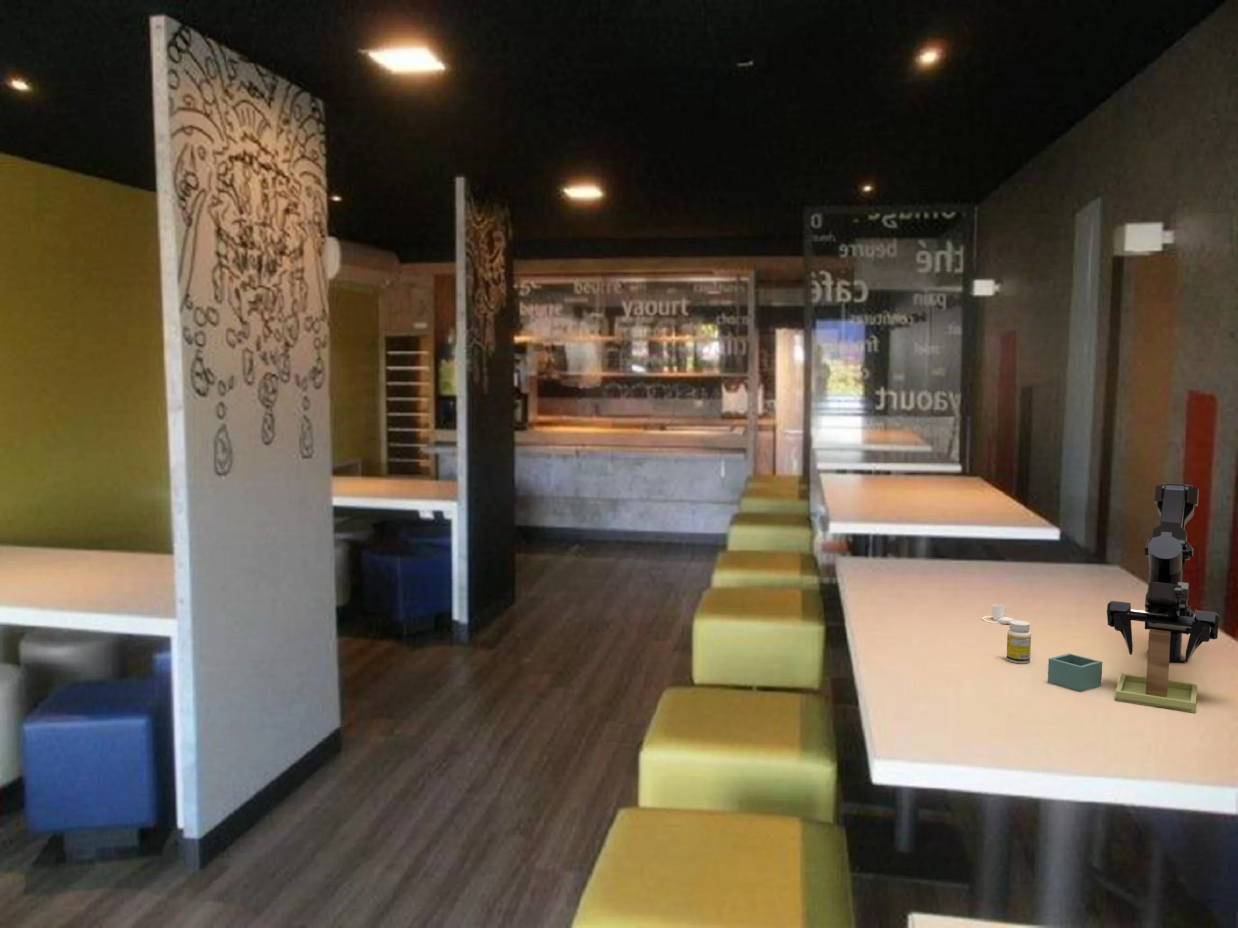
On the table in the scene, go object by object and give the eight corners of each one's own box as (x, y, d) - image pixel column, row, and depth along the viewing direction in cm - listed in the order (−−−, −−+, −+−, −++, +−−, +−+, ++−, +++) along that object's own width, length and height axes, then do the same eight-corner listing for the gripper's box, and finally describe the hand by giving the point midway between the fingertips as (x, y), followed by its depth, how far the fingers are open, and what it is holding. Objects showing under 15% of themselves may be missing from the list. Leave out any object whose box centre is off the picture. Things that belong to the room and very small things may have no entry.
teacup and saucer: (1016, 627, 238) (1017, 611, 237) (982, 624, 240) (982, 608, 240) (1015, 619, 246) (1015, 603, 245) (981, 616, 248) (982, 600, 248)
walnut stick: (1146, 689, 187) (1149, 628, 186) (1167, 692, 185) (1170, 631, 184) (1145, 694, 184) (1148, 632, 183) (1166, 697, 182) (1170, 635, 181)
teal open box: (1068, 676, 198) (1069, 653, 197) (1101, 685, 192) (1102, 661, 191) (1047, 681, 194) (1048, 658, 193) (1080, 691, 188) (1081, 667, 187)
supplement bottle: (1010, 656, 212) (1012, 618, 211) (1033, 660, 209) (1034, 621, 208) (1003, 661, 208) (1004, 622, 207) (1026, 665, 205) (1027, 626, 204)
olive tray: (1121, 681, 194) (1121, 673, 194) (1196, 693, 187) (1197, 684, 187) (1115, 700, 183) (1115, 690, 183) (1195, 712, 176) (1195, 703, 176)
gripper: (1110, 560, 191) (1101, 627, 183) (1221, 570, 181) (1217, 642, 173) (1112, 592, 198) (1103, 658, 190) (1219, 603, 188) (1215, 673, 180)
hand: (1158, 657), depth 183 cm, fingers open, 9 cm apart
